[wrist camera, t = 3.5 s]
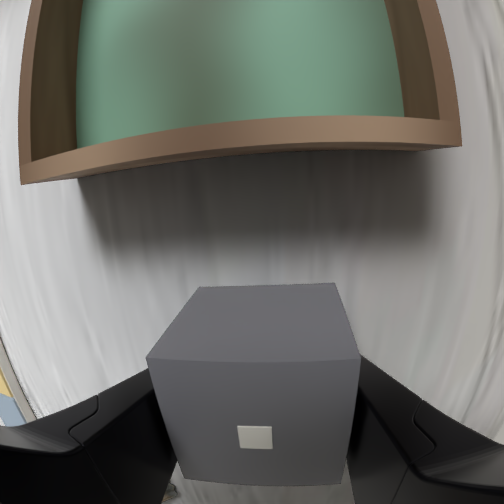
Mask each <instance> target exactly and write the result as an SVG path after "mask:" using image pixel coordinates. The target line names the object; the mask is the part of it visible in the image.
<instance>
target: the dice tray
mask: <svg viewBox="0 0 504 504" xmlns="http://www.w3.org/2000/svg"><path fill="white" fill-rule="evenodd" d="M459 146H462V138H461V126H460V117H459V108H458V100H457V93H456V87H455V80H454V75H453V69H452V64H451V59H450V54H449V49H448V45H447V41H446V36H445V32H444V28H443V25H442V21H441V17H440V14H439V10H438V7H437V3H436V0H32V2H31V6H30V11H29V16H28V21H27V27H26V33H25V39H24V46H23V54H22V63H21V73H20V86H19V107H18V147H19V168H20V181H21V185H25V184H32V183H40V182H48V181H56V180H65V179H74V178H80V177H85V176H90V175H96V174H101V173H106V172H112V171H118V170H123V169H130V168H136V167H142V166H149V165H156V164H163V163H170V162H178V161H186V160H194V159H203V158H212V157H222V156H233V155H245V154H258V153H272V152H290V151H314V150H407V151H421V150H429V149H439V148H449V147H459Z"/></svg>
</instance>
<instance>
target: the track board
mask: <svg viewBox="0 0 504 504" xmlns="http://www.w3.org/2000/svg"><path fill="white" fill-rule="evenodd" d="M0 417H1V419H2V420H3V422H4V424H5V426H19V425H23V424H26V423H29V422H32V421H34V420H36V418H35V416H34V414H33V412H32V410H31V408H30V406H29V404H28V402H27V400H26V398H25V396H24V394H23V392H22V390H21V388H20V385H19V383H18V381H17V379H16V377H15V374H14V372H13V370H12V367H11V365H10V362H9V360H8V357H7V355H6V352H5V350H4V347H3V344H2V342H1V339H0Z"/></svg>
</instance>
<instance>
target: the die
mask: <svg viewBox="0 0 504 504" xmlns="http://www.w3.org/2000/svg"><path fill="white" fill-rule="evenodd" d="M146 361H147V365H148V368H149V372H150V376H151V379H152V383H153V387H154V390H155V394H156V397H157V400H158V404H159V407H160V410H161V413H162V417H163V420H164V423H165V426H166V429H167V432H168V435H169V438H170V441H171V444H172V447H173V449H174V452H175V455H176V458H177V460H178V463H179V466H180V468H181V471H182V474H183V476H184V478H185V479H192V480H199V481H208V482H217V483H227V484H240V485H258V486H312V485H330V484H341V480H342V475H343V471H344V466H345V461H346V456H347V451H348V446H349V440H350V435H351V429H352V423H353V416H354V410H355V403H356V396H357V389H358V381H359V373H360V364H361V357H360V353H359V350H358V347H357V344H356V341H355V338H354V335H353V332H352V330H351V327H350V324H349V321H348V318H347V315H346V312H345V309H344V307H343V304H342V301H341V298H340V295H339V293H338V290H337V287H336V284H335V283H319V284H293V285H263V286H221V287H199V288H198V289H197V290H196V292H195V293H194V294H193V295H192V297H191V298H190V299H189V301H188V302H187V303H186V305H185V306H184V307H183V309H182V310H181V311H180V312H179V314H178V315H177V316H176V318H175V319H174V320H173V322H172V323H171V324H170V326H169V327H168V328H167V330H166V331H165V332H164V334H163V335H162V336H161V338H160V339H159V340H158V342H157V343H156V344H155V346H154V347H153V348H152V350H151V351H150V352H149V354H148V355H147V356H146Z"/></svg>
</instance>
